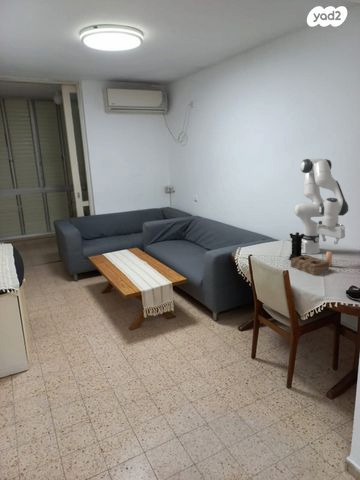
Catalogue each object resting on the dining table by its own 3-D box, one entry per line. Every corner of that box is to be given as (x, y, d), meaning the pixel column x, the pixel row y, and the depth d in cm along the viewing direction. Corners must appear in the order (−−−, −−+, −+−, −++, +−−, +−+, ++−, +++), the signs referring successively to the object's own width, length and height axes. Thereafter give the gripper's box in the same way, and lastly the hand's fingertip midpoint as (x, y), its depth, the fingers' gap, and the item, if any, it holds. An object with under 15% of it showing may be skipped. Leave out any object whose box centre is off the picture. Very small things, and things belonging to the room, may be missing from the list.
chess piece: (296, 257, 250) (297, 232, 244) (304, 260, 242) (305, 234, 237) (288, 259, 247) (288, 233, 242) (295, 262, 240) (296, 236, 234)
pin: (324, 265, 230) (325, 252, 227) (328, 264, 231) (328, 251, 228) (328, 267, 227) (329, 253, 224) (332, 266, 228) (333, 252, 225)
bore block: (290, 266, 232) (291, 258, 231) (305, 262, 238) (305, 254, 237) (313, 275, 215) (313, 266, 213) (328, 270, 221) (329, 262, 219)
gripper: (347, 224, 213) (346, 244, 216) (322, 219, 231) (321, 238, 234) (341, 225, 210) (340, 246, 213) (315, 221, 228) (314, 240, 231)
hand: (330, 242), depth 224 cm, fingers open, 8 cm apart
